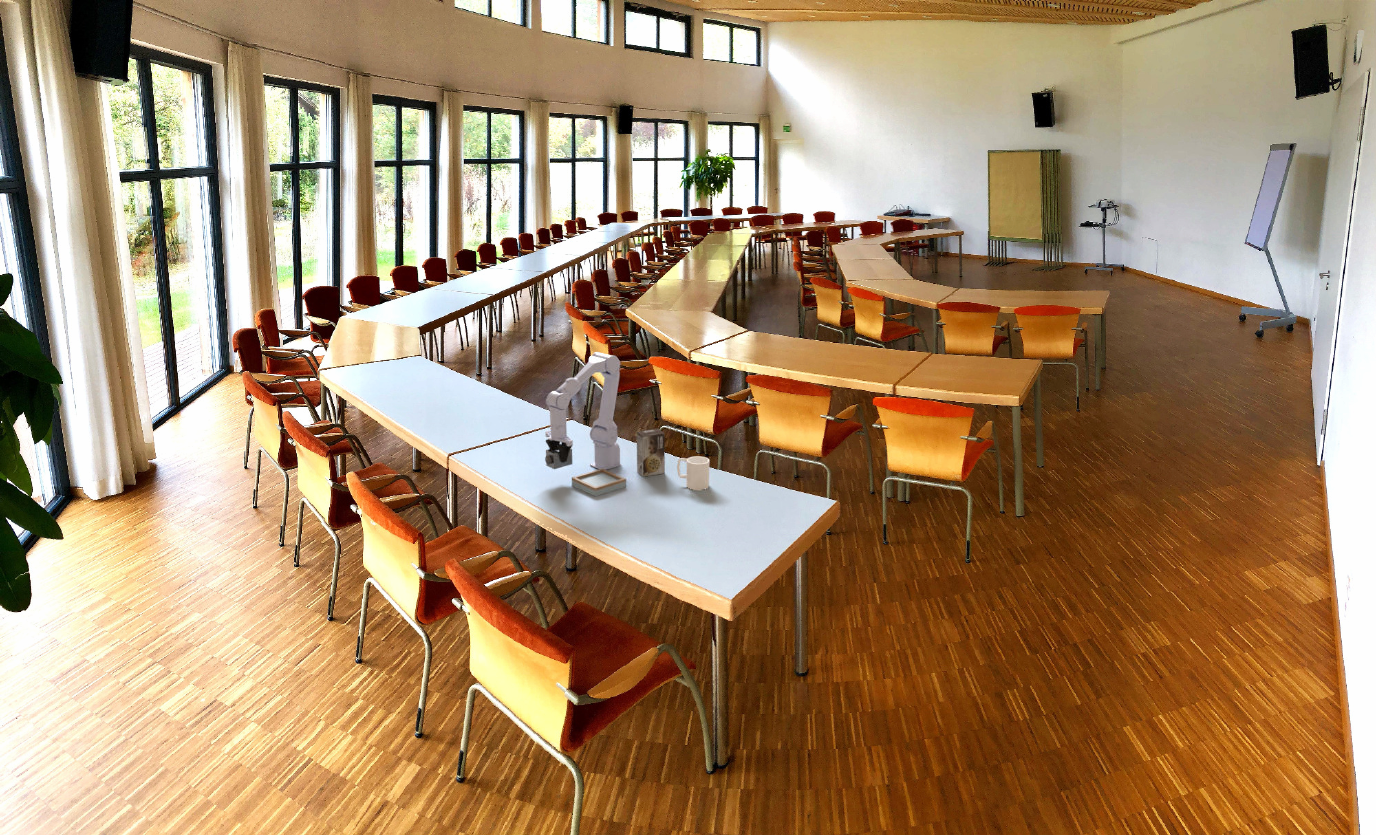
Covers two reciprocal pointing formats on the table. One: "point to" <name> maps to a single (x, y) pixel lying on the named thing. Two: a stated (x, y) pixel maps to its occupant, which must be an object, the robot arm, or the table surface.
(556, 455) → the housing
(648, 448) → the coffee box
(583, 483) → the square tray
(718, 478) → the table surface
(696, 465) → the cup
